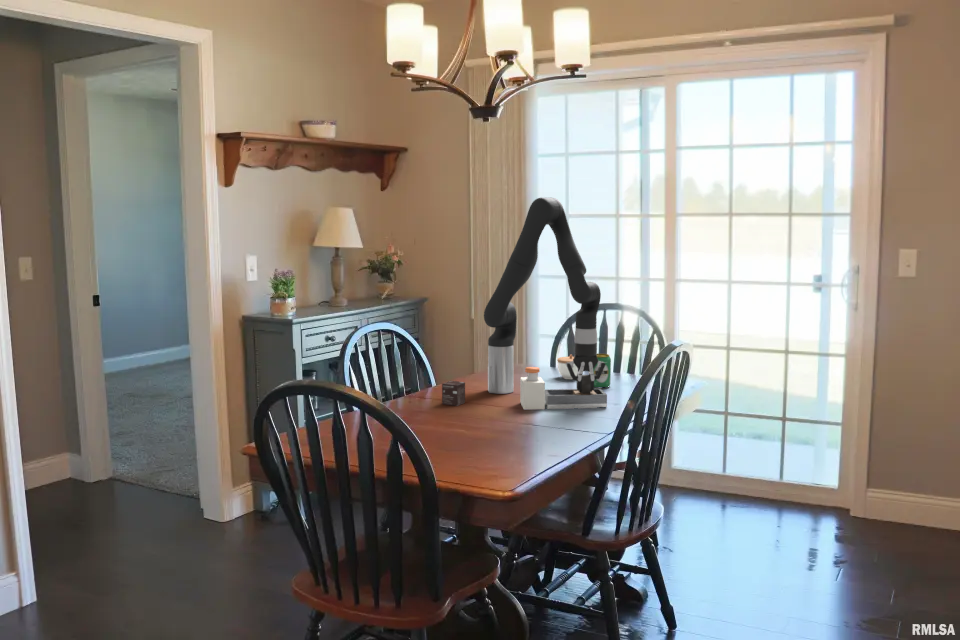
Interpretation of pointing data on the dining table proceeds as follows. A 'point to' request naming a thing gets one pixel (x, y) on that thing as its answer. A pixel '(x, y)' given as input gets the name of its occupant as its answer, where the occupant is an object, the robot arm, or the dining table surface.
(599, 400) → the gray rectangular tray
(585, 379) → the carriage
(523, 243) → the robot arm
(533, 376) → the button
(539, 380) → the white boxy piece
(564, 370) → the lidded jar
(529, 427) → the dining table surface
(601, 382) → the beverage can
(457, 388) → the box
